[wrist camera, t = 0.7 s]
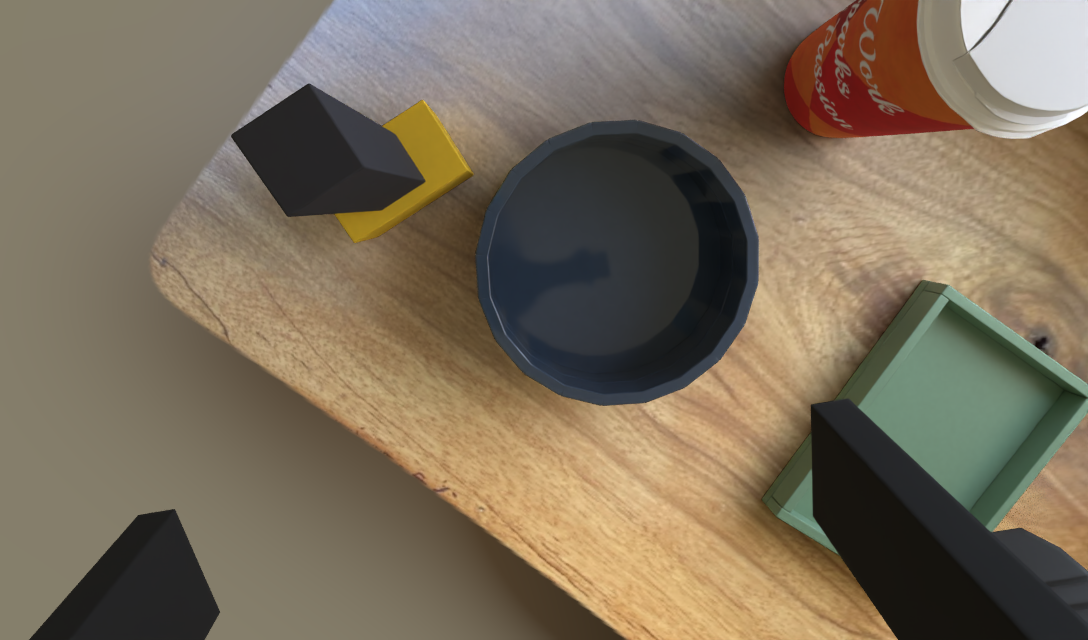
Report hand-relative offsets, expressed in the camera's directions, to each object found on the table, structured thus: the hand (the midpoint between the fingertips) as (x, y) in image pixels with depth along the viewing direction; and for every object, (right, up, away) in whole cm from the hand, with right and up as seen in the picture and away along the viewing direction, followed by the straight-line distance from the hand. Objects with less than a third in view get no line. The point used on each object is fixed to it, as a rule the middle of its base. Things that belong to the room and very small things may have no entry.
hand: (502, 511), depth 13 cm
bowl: (+4, +7, +21) cm, 22 cm away
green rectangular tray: (+22, -3, +24) cm, 33 cm away
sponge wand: (-6, +11, +20) cm, 23 cm away
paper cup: (+16, +16, +20) cm, 30 cm away
